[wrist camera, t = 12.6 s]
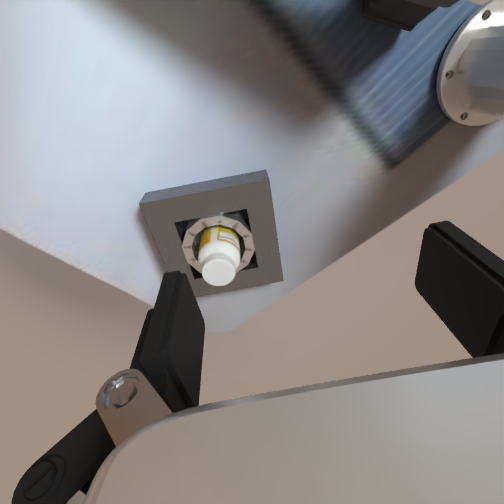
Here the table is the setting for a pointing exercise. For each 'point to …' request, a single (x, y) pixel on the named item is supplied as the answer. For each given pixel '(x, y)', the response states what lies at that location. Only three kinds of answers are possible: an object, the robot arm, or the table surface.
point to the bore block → (214, 213)
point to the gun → (402, 11)
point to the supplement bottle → (219, 254)
